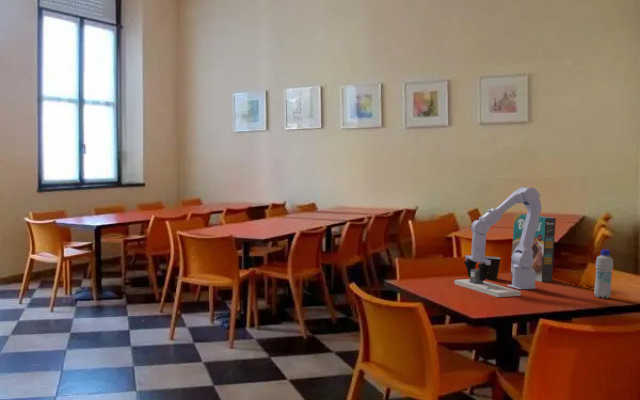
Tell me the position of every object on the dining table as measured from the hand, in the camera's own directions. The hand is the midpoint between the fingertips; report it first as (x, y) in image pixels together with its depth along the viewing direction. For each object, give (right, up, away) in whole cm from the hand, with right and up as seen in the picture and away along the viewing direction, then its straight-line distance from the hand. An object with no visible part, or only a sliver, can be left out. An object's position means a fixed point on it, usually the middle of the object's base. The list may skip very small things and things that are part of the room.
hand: (476, 278), depth 268 cm
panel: (+3, -4, -6) cm, 7 cm away
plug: (0, -4, 0) cm, 4 cm away
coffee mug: (+12, -3, +24) cm, 27 cm away
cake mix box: (+34, -4, +31) cm, 46 cm away
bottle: (+49, -6, -11) cm, 51 cm away
